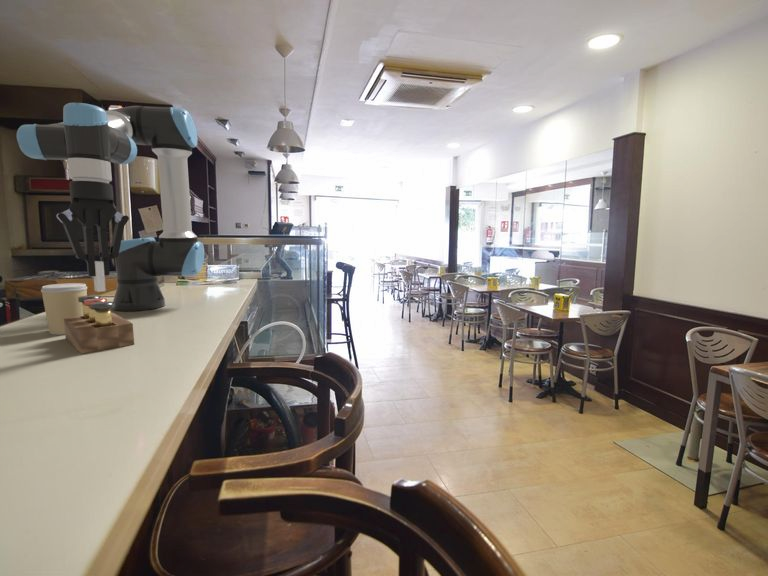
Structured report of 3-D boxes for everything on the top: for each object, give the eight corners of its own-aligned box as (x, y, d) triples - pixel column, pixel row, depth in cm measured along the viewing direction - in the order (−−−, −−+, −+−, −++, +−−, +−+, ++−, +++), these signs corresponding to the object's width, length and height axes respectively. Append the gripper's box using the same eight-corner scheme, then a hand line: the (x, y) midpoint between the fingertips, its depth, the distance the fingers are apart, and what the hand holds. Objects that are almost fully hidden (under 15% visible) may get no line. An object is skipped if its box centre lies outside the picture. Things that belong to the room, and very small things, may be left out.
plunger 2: (113, 328, 94) (110, 300, 93) (118, 331, 91) (116, 303, 90) (90, 331, 90) (87, 303, 90) (95, 335, 88) (92, 305, 87)
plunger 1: (100, 320, 102) (97, 294, 101) (104, 322, 99) (102, 296, 98) (78, 322, 99) (76, 296, 98) (82, 325, 96) (80, 298, 95)
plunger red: (106, 323, 98) (104, 297, 97) (111, 327, 95) (109, 299, 94) (84, 326, 95) (81, 299, 94) (88, 330, 92) (86, 302, 91)
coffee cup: (99, 327, 109) (95, 283, 107) (69, 336, 99) (64, 288, 98) (68, 326, 109) (63, 282, 108) (35, 334, 100) (30, 287, 99)
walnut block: (114, 331, 104) (112, 312, 104) (134, 344, 93) (132, 323, 92) (65, 338, 97) (63, 318, 97) (81, 353, 86) (79, 330, 85)
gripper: (121, 185, 93) (128, 286, 96) (49, 179, 84) (59, 291, 87) (131, 183, 88) (138, 289, 91) (55, 176, 79) (66, 295, 82)
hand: (100, 290), depth 89 cm, fingers closed
